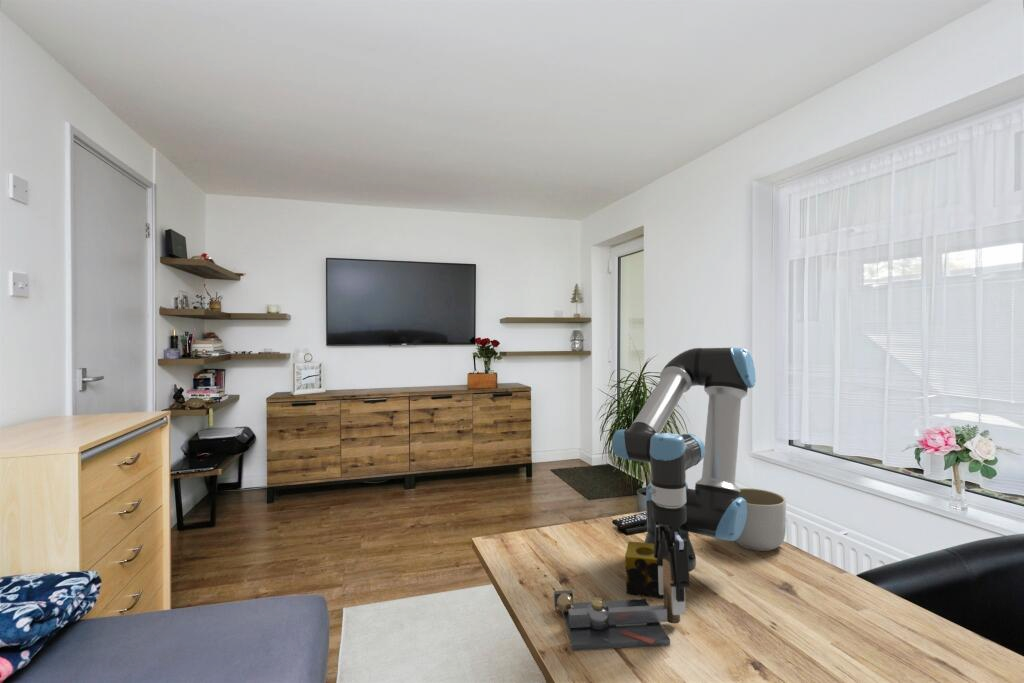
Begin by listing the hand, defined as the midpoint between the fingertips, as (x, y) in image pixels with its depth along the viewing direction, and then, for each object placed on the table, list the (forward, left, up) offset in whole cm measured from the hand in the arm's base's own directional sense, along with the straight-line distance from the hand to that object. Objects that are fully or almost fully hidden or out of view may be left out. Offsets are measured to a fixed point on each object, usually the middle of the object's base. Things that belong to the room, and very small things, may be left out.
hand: (671, 603), depth 107 cm
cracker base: (+14, -1, -5) cm, 15 cm away
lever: (+11, 0, -4) cm, 11 cm away
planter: (-42, -39, -5) cm, 58 cm away
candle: (0, -17, -5) cm, 18 cm away
